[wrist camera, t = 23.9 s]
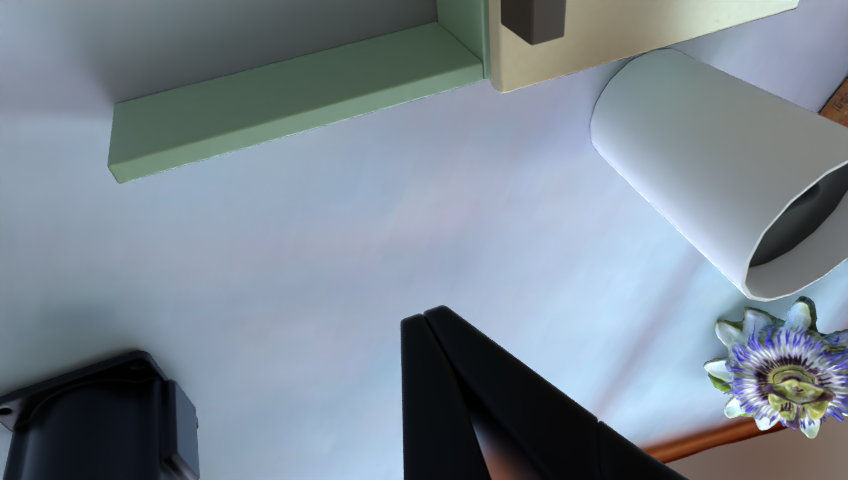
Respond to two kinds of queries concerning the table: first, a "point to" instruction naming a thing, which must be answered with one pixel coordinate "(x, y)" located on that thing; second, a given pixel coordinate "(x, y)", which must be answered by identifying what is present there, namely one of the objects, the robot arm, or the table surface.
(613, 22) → the sliding lid
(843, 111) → the tin
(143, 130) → the storage box
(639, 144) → the white cup
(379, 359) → the table surface
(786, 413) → the passion flower
